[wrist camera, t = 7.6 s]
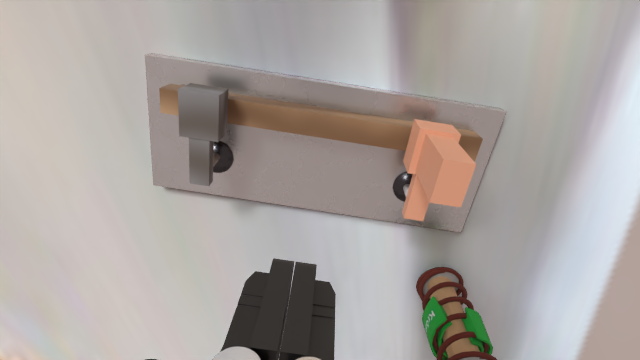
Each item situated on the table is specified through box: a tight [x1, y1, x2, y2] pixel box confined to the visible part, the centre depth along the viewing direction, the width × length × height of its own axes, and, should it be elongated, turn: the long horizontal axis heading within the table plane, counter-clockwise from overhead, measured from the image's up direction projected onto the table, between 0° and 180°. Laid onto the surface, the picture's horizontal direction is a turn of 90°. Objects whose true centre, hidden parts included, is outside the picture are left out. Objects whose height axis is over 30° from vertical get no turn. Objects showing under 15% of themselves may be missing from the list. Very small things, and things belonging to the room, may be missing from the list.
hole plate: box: [145, 53, 506, 232], centre depth 33 cm, size 12×30×1 cm, turn 82°
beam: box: [159, 83, 483, 186], centre depth 30 cm, size 8×26×4 cm, turn 82°
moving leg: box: [402, 119, 476, 221], centre depth 27 cm, size 8×3×9 cm, turn 172°
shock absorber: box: [416, 267, 497, 360], centre depth 32 cm, size 6×6×15 cm
